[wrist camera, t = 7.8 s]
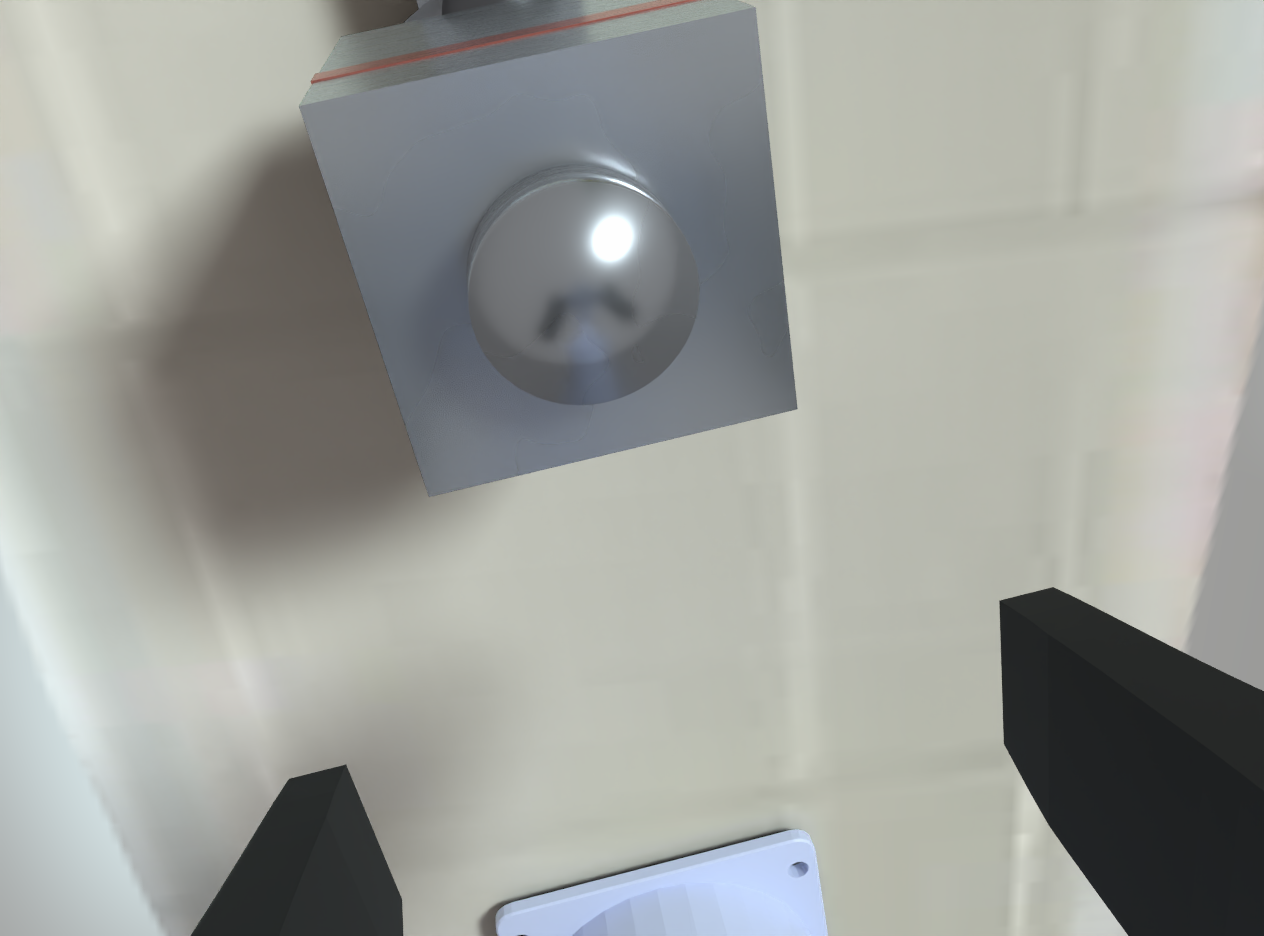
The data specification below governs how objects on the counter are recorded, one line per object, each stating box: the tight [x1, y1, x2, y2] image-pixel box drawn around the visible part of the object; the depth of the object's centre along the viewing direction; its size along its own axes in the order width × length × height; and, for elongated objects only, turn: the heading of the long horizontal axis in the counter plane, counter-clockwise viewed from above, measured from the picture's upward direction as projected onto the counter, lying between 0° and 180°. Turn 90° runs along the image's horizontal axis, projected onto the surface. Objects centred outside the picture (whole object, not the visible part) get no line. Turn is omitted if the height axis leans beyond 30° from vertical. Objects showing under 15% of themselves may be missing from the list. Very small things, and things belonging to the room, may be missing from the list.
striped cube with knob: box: [299, 0, 797, 497], centre depth 13 cm, size 5×5×6 cm
